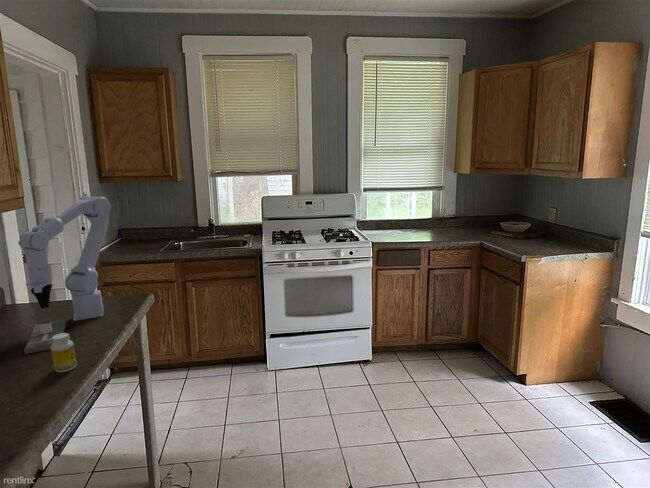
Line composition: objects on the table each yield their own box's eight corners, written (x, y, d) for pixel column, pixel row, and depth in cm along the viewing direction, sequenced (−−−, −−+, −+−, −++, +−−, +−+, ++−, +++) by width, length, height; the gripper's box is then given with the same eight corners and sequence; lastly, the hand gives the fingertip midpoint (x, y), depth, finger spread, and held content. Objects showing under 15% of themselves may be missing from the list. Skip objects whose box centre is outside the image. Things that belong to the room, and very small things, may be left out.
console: (66, 322, 154) (65, 315, 153) (59, 347, 134) (58, 339, 134) (36, 327, 150) (35, 320, 149) (25, 354, 131) (23, 345, 130)
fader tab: (53, 329, 144) (51, 318, 143) (52, 332, 141) (50, 320, 140) (41, 331, 142) (38, 320, 141) (39, 334, 140) (37, 322, 139)
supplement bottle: (55, 366, 123) (50, 334, 120) (77, 361, 125) (72, 330, 123) (53, 374, 118) (47, 341, 116) (76, 369, 120) (71, 337, 118)
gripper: (27, 264, 147) (34, 303, 150) (19, 275, 134) (27, 317, 137) (52, 261, 150) (58, 299, 153) (46, 272, 137) (53, 312, 140)
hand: (45, 307), depth 145 cm, fingers closed
